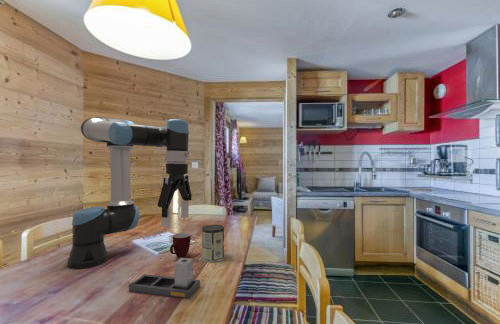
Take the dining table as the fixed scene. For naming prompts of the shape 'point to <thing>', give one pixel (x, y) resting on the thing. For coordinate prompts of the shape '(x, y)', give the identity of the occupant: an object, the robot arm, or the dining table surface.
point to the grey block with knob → (184, 273)
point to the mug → (181, 244)
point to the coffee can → (212, 243)
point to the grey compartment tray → (162, 286)
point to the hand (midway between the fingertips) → (175, 221)
